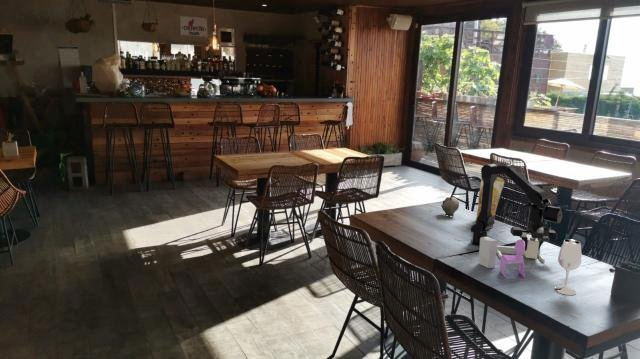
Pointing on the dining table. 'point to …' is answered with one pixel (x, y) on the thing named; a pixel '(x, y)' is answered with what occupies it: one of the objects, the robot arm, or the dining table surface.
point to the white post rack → (514, 252)
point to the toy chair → (514, 258)
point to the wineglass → (569, 262)
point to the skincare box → (487, 252)
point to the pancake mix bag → (496, 195)
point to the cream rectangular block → (532, 248)
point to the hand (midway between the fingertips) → (531, 251)
